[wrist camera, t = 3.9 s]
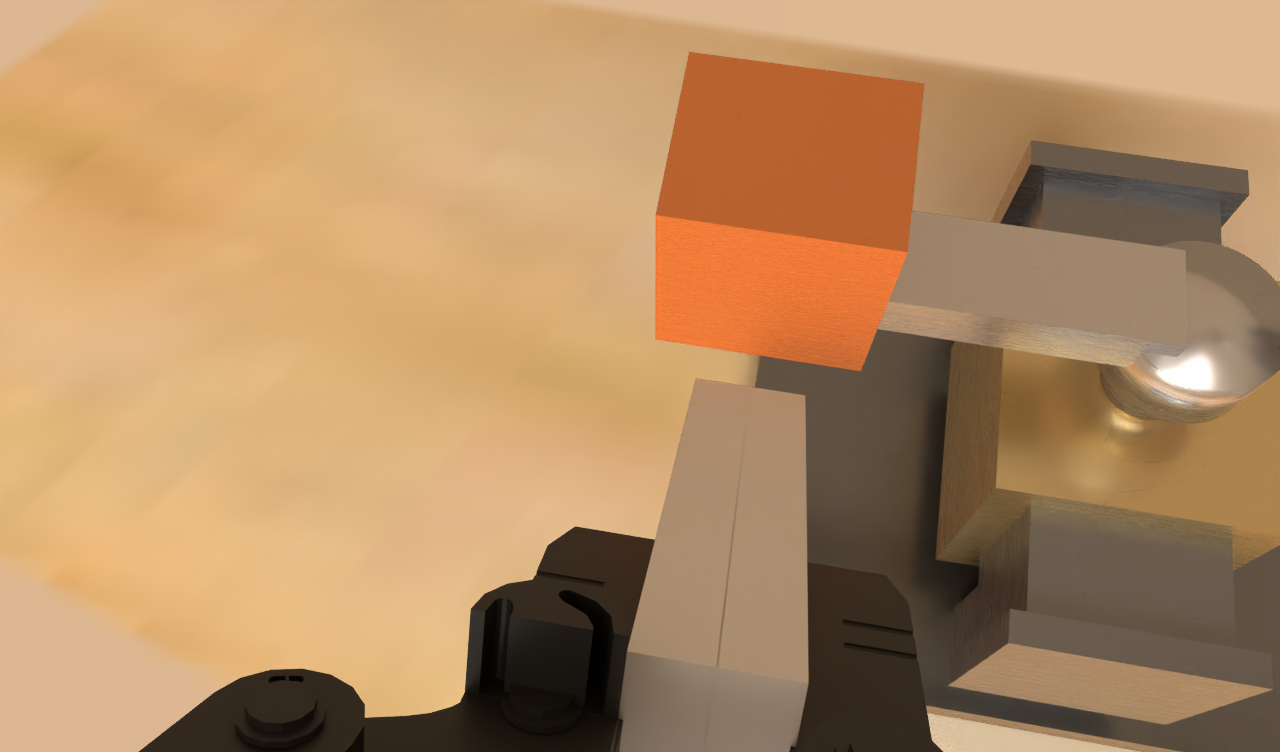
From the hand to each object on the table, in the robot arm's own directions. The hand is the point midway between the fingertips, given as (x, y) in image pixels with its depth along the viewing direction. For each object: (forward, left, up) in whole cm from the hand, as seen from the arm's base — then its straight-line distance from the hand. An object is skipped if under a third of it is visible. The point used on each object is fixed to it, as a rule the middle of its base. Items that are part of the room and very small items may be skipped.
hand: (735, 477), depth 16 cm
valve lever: (-4, -5, -3) cm, 7 cm away
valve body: (-7, -5, -11) cm, 14 cm away
